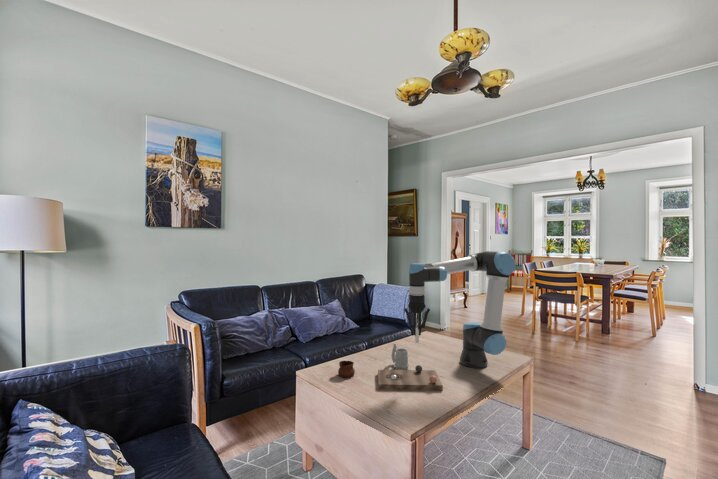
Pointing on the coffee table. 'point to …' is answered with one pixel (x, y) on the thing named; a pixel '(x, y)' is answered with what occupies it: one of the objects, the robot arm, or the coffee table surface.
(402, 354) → the mug
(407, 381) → the deck
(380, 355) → the coffee table surface
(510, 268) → the robot arm
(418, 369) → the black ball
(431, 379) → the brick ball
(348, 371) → the ceramic pot
